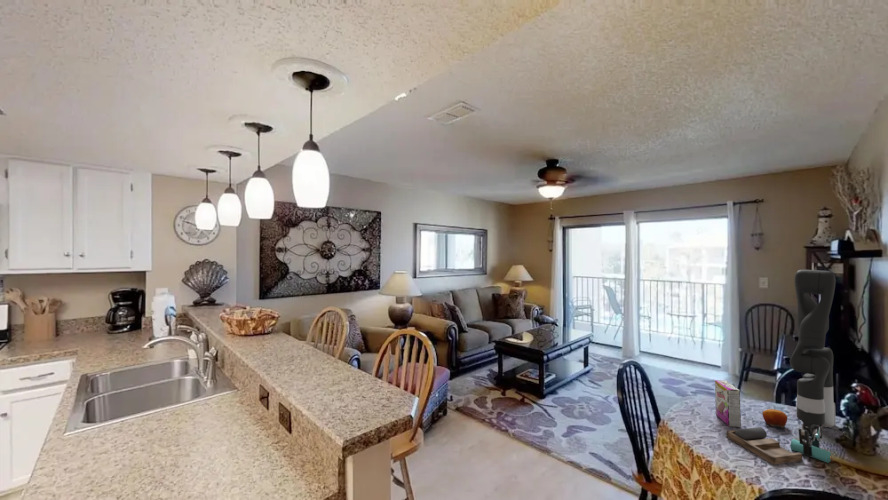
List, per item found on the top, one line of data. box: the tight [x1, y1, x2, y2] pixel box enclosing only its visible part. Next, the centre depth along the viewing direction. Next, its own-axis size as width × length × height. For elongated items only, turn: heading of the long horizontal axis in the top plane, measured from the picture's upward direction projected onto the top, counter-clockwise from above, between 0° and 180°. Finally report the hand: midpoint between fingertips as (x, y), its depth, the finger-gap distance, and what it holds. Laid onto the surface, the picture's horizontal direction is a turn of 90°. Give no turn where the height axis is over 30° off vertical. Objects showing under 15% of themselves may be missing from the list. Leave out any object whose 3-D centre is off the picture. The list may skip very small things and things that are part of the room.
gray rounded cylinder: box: [735, 426, 768, 440], centre depth 148 cm, size 10×4×4 cm, turn 97°
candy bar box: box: [714, 379, 742, 428], centre depth 165 cm, size 11×5×16 cm, turn 168°
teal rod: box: [790, 438, 832, 464], centre depth 137 cm, size 10×4×4 cm
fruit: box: [762, 408, 788, 430], centre depth 159 cm, size 8×8×8 cm
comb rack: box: [726, 429, 803, 465], centre depth 143 cm, size 12×19×2 cm, turn 7°
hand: (811, 452), depth 138 cm, fingers open, 5 cm apart
